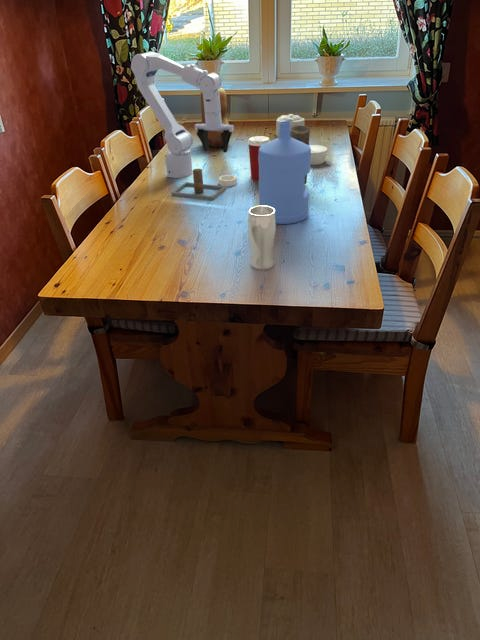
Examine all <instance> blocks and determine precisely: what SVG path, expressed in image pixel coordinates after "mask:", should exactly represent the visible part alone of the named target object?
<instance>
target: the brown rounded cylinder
mask: <svg viewBox="0 0 480 640" xmlns="http://www.w3.org/2000/svg"><path fill="white" fill-rule="evenodd" d="M310 133H311V129H310V128H309V127H308V126H306V125H304V126H301V125H300V126H293V127H291V131H290V136H291V137H292V138H294V139H296V140H298V141H301V142H303V143H305V144H307V145H310ZM307 179H308V174H307V175H306V176H305V185H306V184H307V182H308V181H307Z"/></svg>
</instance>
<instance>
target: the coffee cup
mask: <svg viewBox="0 0 480 640" xmlns="http://www.w3.org/2000/svg"><path fill="white" fill-rule="evenodd" d="M270 141H271V140H270V138H269V137H268V136H264V135H261V136H260V135H257V136H252V137H249V139H248V141H247V145H248V152H249V154H248V155H249V164H250V165H249V167H250V177H251V180H252V181H258V182H259V163H258V155H259V148H260V147H261V146H262V145H264V144H266V143H268V142H270Z"/></svg>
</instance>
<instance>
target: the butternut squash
mask: <svg viewBox="0 0 480 640" xmlns="http://www.w3.org/2000/svg"><path fill="white" fill-rule="evenodd" d="M218 90H219V94H220V107H221V120H222V124H228V125H230V123H229V121H228V118H227V108H228V105H227V103H228V101H227V93H226V90H225V89H224V88H222V87H220V88H219V89H218ZM200 109H201V110H200V111H201V123H200V124H206V122H205V111H204V100H203V93H202V92H201V91H200ZM222 132H223V131H208V146H210V147H212V148H216V149H218V148H220V147H223V142H222V138H221V133H222Z"/></svg>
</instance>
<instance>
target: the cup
mask: <svg viewBox="0 0 480 640" xmlns="http://www.w3.org/2000/svg"><path fill="white" fill-rule="evenodd" d="M218 184H219V185H218V186H225V187H233V186H235V185H237V184H238V179H237V176H236V175H233V174H225V175H224V174H223V175H220V176H219V177H218Z"/></svg>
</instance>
